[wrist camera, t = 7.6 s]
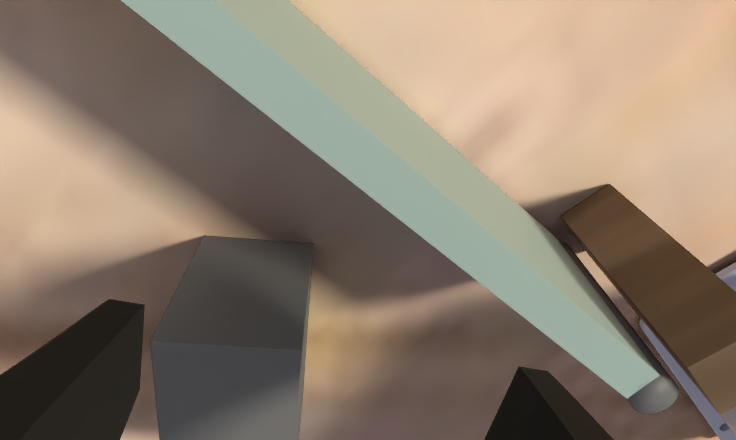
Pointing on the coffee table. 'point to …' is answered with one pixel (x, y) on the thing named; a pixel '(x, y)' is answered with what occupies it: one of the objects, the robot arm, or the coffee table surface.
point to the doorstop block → (235, 343)
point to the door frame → (664, 289)
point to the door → (412, 176)
